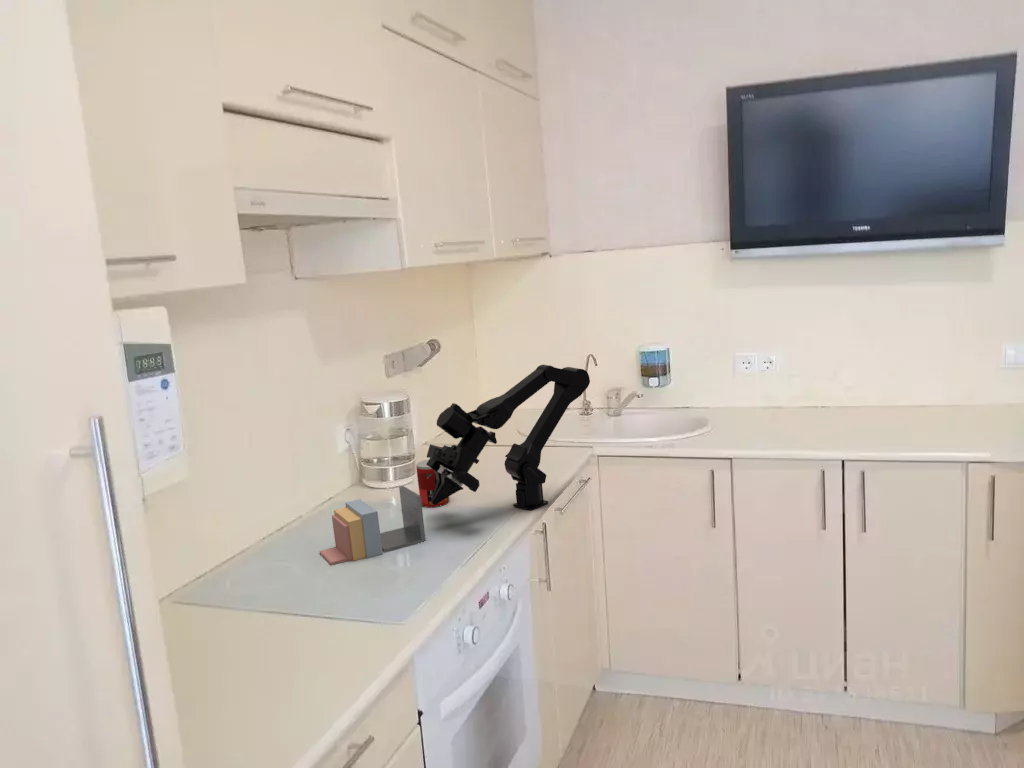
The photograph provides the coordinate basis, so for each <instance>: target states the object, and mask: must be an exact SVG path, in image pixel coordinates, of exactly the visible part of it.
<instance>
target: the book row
mask: <svg viewBox="0 0 1024 768" xmlns="http://www.w3.org/2000/svg"><path fill="white" fill-rule="evenodd" d="M344 504H345V505H344V506H345V507H342V508H338V509H337V508H336V509H334V510H333V515H331V521H332V528H333V529H332V530H333V535H334V544H335V547H330V548H327V549H323V550H319V555H320V556H322V557H323V558H324V560H325V561H326V562H328V563H329V564H330V565H331V566H333V565H338V564H341V563H345V562H348V561H349V562H352V561H353V562H355V561H359V560H362V559H370V558H373V557H376V556H380V555H383V554H384V553H383V552H384V551H382V544H381V536H380V533H381V529H380V521H379V514H378V510H377V509H375V508H373V507H372V506H371V505H369V504H368V503H366V502H365V501H363V500H362V499H360V498H359V499H353V500H350V501H345V502H344Z"/></svg>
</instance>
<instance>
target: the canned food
mask: <svg viewBox="0 0 1024 768" xmlns="http://www.w3.org/2000/svg"><path fill="white" fill-rule="evenodd" d="M428 461H429V459H425V460H421V461H418V462H417V463H416V464H415V465H416V476H417V484H418V493H419V494H418V495H420V496H421V503H422V507H425V506H426V507H425V508H436V507H435V506H439V507H441V506H440V505H443V506H445V505H447V504H448V503H449V500H450V496H449V497H447V498H446V499H444V500H443V501H441V502H439V503H438V504H436V505H434V504H432V503H431V500H432V496H433V493H434V490H435V486H436V482H437V478H436V474H435V473H434V470H433V469H432V468H430V467H429V466H428V465H426V464H427V462H428ZM446 503H447V504H446ZM444 504H445V505H444Z"/></svg>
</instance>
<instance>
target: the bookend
mask: <svg viewBox="0 0 1024 768" xmlns="http://www.w3.org/2000/svg"><path fill="white" fill-rule="evenodd" d="M398 488H399V489H398V490H399V499H400V505H401V506H400V508H401V514H402V524H403V527H400V528H396V529H392V530H388V531H384V532H380V536H381V544H382V552H384V553H389V552H392V551H397V550H399V549H404V548H407V547H411V546H414V545H419V544H422V543H421V542H423V543H425V542H424V541H426V542H427V540H426V531H425V530H426V529H425V522H424V513H423V505H422V503H421V496H420V494H418V493H416V492H415V491H413V490H411V489H409V488H408V487H406V486H404V485H400V486H398ZM418 543H419V544H418Z"/></svg>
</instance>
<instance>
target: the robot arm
mask: <svg viewBox="0 0 1024 768" xmlns="http://www.w3.org/2000/svg"><path fill="white" fill-rule="evenodd" d="M551 382H553V383H554V384H553V385H554V386H553V394H552V396H551V397H550V400H548V403H547V404H546V406H545V408H544V409H543V411H541V414H540V416H539V417H538V419H537V420H536V422H535V424H534V426H533V427H532V429H531V430H530V433H528V435H527V436H526V439H525V440H524V441H523V442H521V443H520V444H518V443H513V444H512V445H511V447H510V450H509V451H508V453H506V454H505V456H504V457H506V458H505V460H504V467H505V472H506V473H508V474H509V475H510V477H511V478H512V480H513V481H516V482H517V483H516V482H515V498H516V499H515V500H516V503H513V507H516V508H520V509H525V510H529V511H531V510H534V509H537V508H540V507H542V506H544V505H545V506H546V505H547V504H549V501H548V500H545V499H544V491H543V490H544V489H543V484H546V479H547V474H546V473H545V472H544V471H542V470H541V469H539V466H540V464H541V456H542V451H543V449H544V447H545V446H546V443H547V442H548V441H549V438H550V437H551V436H552V434H553V432H554V430H556V427H557V425H558V424H559V422H561V421H560V420H561V419H562V417H563V415H564V414H565V412H566V411H567V409H568V407H570V404H572V403H573V402H574V401H575V400H577V399H578V398H579V397H581V396H582V395H583V394H584V392H585V391H586V390H587V389H588V387H589V385H590V383H591V379H590V375H589V372H587V370H586V369H582V368H578V367H572V366H571V367H570V366H566V367H562V368H558V367H555V366H553V365H550V364H549V365H548V364H540V365H539V366H537V367H536V369H534V371H531V373H530V374H528V375H526V376H525V377H524V378H523V379H521V381H519V382H518V383H517V384H515V385H514V386H513V387H511V388H510V389H509V390H507V391H506V392H504V394H503V393H502V394H501V395H499V396H497V397H494V398H493V397H492V398H490V399H487V400H486V401H484V402H482V403H481V404H479V406H478V405H477V408H476V409H473V410H472V411H469V412H467V411H465V410H464V409H463V408H462V407H461V406H460V405H458V404H457V403H455V402H452V403H451V404H450V406H449V407H447V408H446V409H444V410H443V411H441V413H439V415H438V417H437V419H436V426H437V427H438V428H440V429H441V430H442V431H444V432H445V433H446V434H448V435H449V436H451V437H452V438H453V439H454V440H457V439H460V438H461V439H460V441H458V444H457V445H455V444H452V445H451V446H448V445H446V444H445V445H443V446H438V445H434V444H429V447H428V450H427V453H426V458H427V459H428V458H429V459H428V460H429V461H428V462H427V464H426V465H428V466H429V467H430V468H432V469H433V470H434V473H435V474H436V478H437V482H436V486H435V490H434V493H433V496H432V500H431V503H432V504H434V505H436V504H438V503H439V502H441V501H443V500H444V499H446V498H447V497H449V498H450V496H452V495H454V494H456V493H458V492H459V491H462V490H464V487H462V486H463V485H464V486H466V488H468V490H470V491H471V492H473V493H476V492H477V491H478V489H479V488H480V480H479V479H478V478H477V477H475V476H474V475H472V474H470V473H469V472H470V469H472V467H473V465H474V464H477V465H478V464H479V462H480V460H479V459H478V457H479V456H480V455H481V453H482V451H483V449H484V448H485V447H486V445H487V444H488V443H490V444H491V443H492V444H494V445H496V444H498V440H497V438H496V432H493V431H488V430H486V428H487V429H488V428H489V429H490V430H499V429H500V428H502V427H503V426H504V425H505V424H507V422H508V421H509V420H510V419H511V418H512V415H513V414H514V411H515V410H516V409H517V408H518V407H519V406H521V405H522V404H523V403H524V402H526V401H527V400H529V399H530V398H531V397H533V396H534V395H535V394H537V392H539V391H540V390H541V389H543V388H544V387H545V386H547V385H548V384H549V383H551ZM474 424H475V425H479V426H475V425H474ZM484 427H485V428H484Z"/></svg>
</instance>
